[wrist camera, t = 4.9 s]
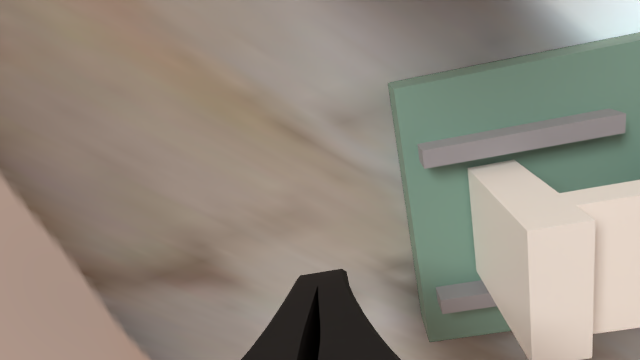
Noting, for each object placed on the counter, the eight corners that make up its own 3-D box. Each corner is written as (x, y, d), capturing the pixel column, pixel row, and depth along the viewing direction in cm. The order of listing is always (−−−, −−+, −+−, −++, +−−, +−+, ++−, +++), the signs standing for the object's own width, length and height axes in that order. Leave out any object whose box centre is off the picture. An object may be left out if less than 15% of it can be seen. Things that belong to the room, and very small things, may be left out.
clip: (610, 142, 13) (738, 196, 9) (606, 250, 15) (717, 341, 10) (467, 168, 14) (527, 230, 10) (476, 270, 15) (532, 365, 11)
